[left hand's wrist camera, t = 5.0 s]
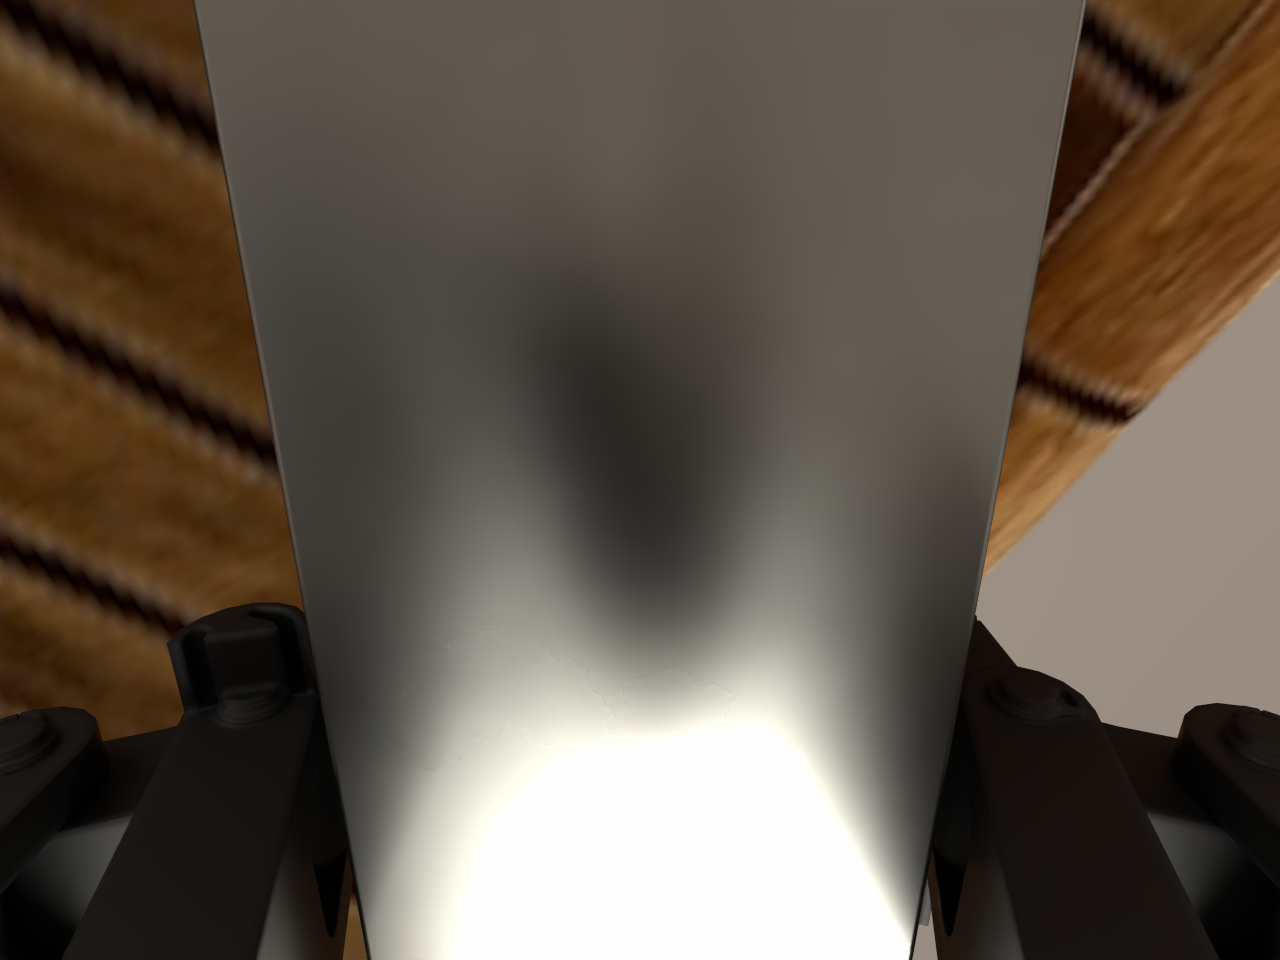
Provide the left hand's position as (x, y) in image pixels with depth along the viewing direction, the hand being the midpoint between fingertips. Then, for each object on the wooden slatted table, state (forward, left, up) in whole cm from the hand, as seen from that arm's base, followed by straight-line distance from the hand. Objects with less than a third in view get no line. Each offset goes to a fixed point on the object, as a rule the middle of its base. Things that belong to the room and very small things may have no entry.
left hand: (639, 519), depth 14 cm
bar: (-4, +7, -1) cm, 8 cm away
